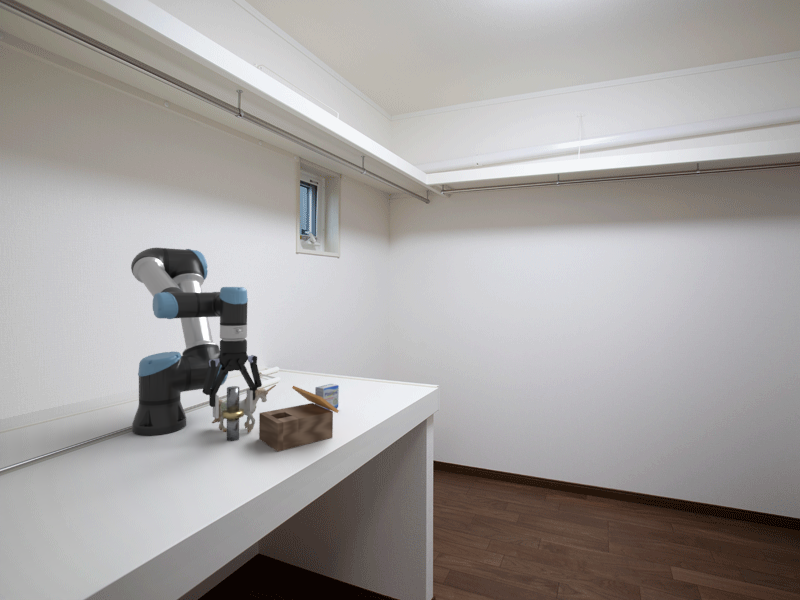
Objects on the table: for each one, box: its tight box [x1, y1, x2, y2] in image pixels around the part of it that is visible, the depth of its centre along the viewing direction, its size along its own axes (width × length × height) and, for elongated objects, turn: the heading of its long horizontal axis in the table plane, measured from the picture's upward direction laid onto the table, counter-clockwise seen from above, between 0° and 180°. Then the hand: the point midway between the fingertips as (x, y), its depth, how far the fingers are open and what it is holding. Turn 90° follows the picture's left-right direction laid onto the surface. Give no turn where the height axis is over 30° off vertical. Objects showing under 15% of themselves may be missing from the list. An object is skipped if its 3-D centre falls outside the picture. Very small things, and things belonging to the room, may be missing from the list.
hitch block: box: [258, 402, 334, 453], centre depth 133 cm, size 18×12×8 cm, turn 132°
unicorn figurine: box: [211, 384, 277, 434], centre depth 140 cm, size 7×20×13 cm, turn 104°
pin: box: [222, 385, 245, 442], centre depth 131 cm, size 6×6×16 cm
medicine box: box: [314, 383, 340, 410], centre depth 165 cm, size 8×4×9 cm, turn 143°
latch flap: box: [291, 385, 340, 414], centre depth 137 cm, size 8×17×1 cm
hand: (232, 414), depth 131 cm, fingers open, 9 cm apart
